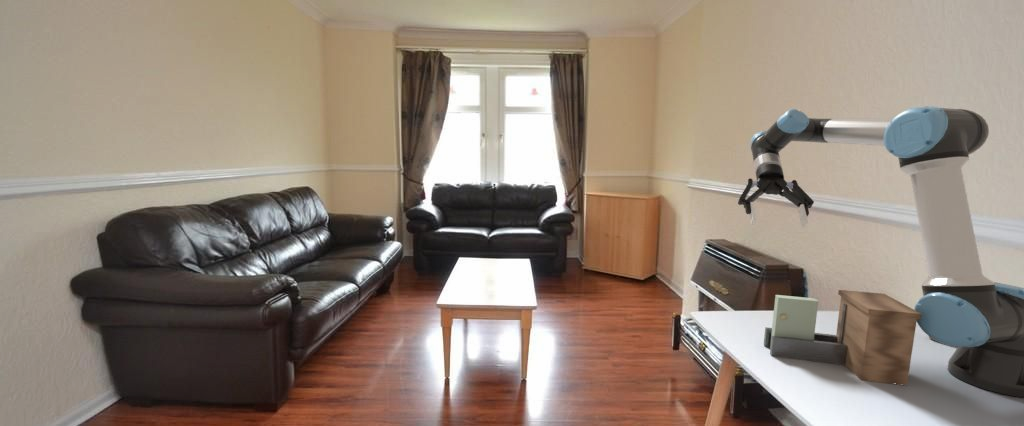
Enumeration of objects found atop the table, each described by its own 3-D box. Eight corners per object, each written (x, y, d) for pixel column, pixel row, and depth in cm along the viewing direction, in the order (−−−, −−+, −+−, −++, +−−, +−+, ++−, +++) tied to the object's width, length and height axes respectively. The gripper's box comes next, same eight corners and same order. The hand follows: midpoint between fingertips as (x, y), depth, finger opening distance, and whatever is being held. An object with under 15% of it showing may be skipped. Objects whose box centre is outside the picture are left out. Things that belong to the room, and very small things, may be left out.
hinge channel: (833, 353, 116) (835, 334, 115) (845, 365, 109) (847, 345, 108) (763, 344, 120) (765, 327, 119) (771, 355, 113) (773, 337, 113)
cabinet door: (808, 353, 115) (814, 298, 113) (812, 358, 112) (819, 302, 110) (769, 348, 118) (775, 294, 116) (773, 353, 115) (779, 298, 113)
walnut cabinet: (875, 358, 113) (884, 293, 111) (910, 387, 99) (921, 314, 97) (830, 352, 116) (838, 289, 114) (859, 380, 102) (868, 308, 99)
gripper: (808, 179, 142) (822, 233, 130) (724, 177, 148) (730, 227, 136) (816, 163, 136) (832, 217, 124) (729, 161, 143) (735, 212, 130)
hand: (778, 223), depth 130 cm, fingers open, 13 cm apart
